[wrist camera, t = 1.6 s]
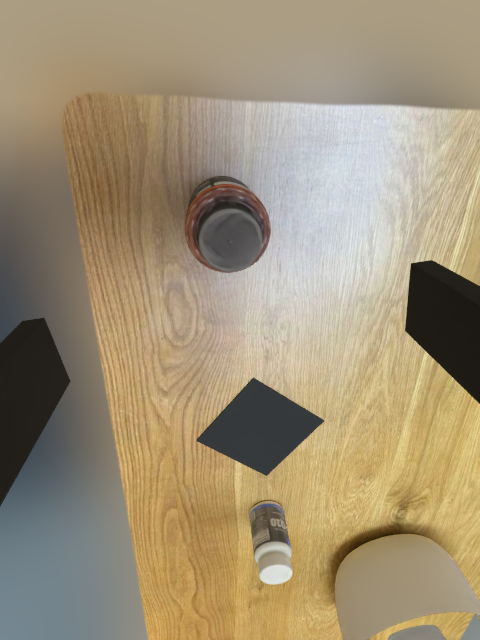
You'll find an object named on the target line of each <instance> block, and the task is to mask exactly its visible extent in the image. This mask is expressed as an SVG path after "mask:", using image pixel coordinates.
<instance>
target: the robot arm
mask: <svg viewBox="0 0 480 640" xmlns="http://www.w3.org/2000/svg"><path fill="white" fill-rule="evenodd" d="M405 331H406V332H407V333H408V334H409V335H410V336H411V337H412V338H413V339H414V340H415V341H416V342H417V343H418V344H419V345H420V346H421V347H422V348H423V349H424V350H425V351H426V352H427V353H428V354H429V355H430V356H431V357H432V358H434V359H435V360H436V361H437V362H438V363H439V364H440V365H441V366H442V367H443V368H444V369H445V370H446V371H447V372H448V373H449V374H450V375H451V376H452V377H453V378H454V379H455V380H456V381H457V382H458V383H459V384H460V385H461V386H462V387H463V388H464V389H465V390H466V391H467V392H468V393H469V394H470V395H471V396H472V397H473V398H474V399H475V400H476V401H477V402H478V403H480V286H478V285H476V284H475V283H473V282H471V281H469V280H467V279H465V278H464V277H462V276H460V275H458V274H456V273H454V272H453V271H451V270H449V269H447V268H445V267H443V266H442V265H440V264H438V263H436V262H434V261H432V260H431V261H424V262H417V263H411V270H410V281H409V293H408V304H407V316H406V328H405ZM69 383H70V379H69V377H68V374H67V372H66V370H65V367H64V365H63V363H62V360H61V357H60V355H59V353H58V350H57V348H56V345H55V343H54V340H53V338H52V336H51V333H50V331H49V328H48V326H47V323H46V321H45V319H44V318H40V319H33V320H27V321H22V322H21V323H20V324H19V325H18V326H17V327H16V328H15V329H14V330H13V331H12V332H11V333H10V334H9V335H8V336H7V337H6V338H5V339H4V340H3V341H2V342H1V343H0V505H1V504H2V502H3V500H4V499H5V497H6V495H7V493H8V491H9V490H10V488H11V486H12V484H13V483H14V481H15V479H16V477H17V475H18V474H19V472H20V470H21V468H22V466H23V465H24V463H25V461H26V459H27V458H28V456H29V454H30V452H31V450H32V448H33V447H34V445H35V443H36V441H37V440H38V438H39V436H40V435H41V433H42V431H43V429H44V427H45V426H46V424H47V422H48V420H49V418H50V417H51V415H52V413H53V411H54V410H55V408H56V406H57V404H58V402H59V401H60V399H61V397H62V395H63V394H64V391H65V390H66V388H67V386H68V385H69Z"/></svg>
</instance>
